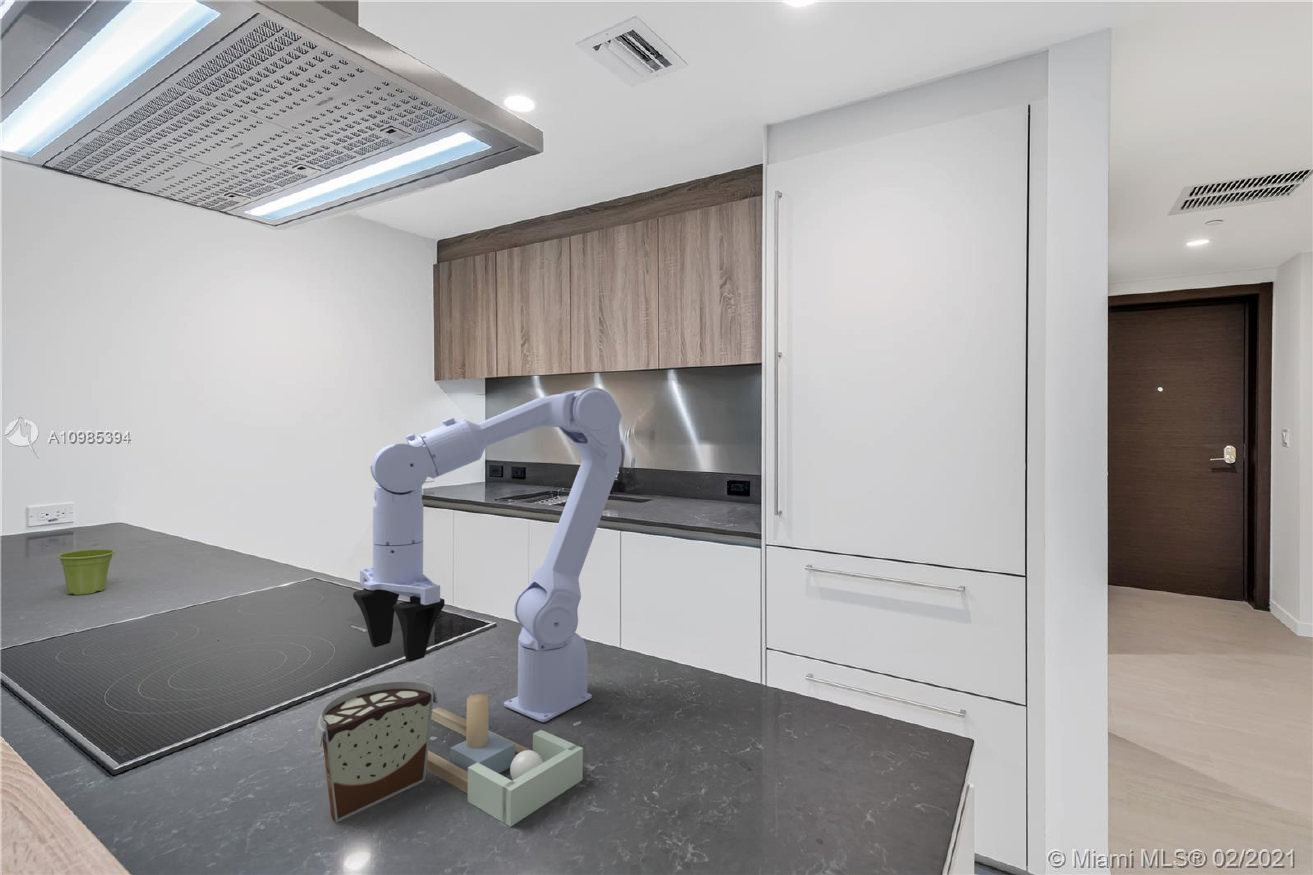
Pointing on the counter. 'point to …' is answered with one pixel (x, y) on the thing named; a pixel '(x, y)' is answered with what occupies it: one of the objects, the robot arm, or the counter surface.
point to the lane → (443, 766)
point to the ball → (524, 763)
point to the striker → (481, 740)
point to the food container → (375, 743)
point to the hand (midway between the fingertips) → (397, 651)
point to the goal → (527, 781)
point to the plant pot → (86, 570)
